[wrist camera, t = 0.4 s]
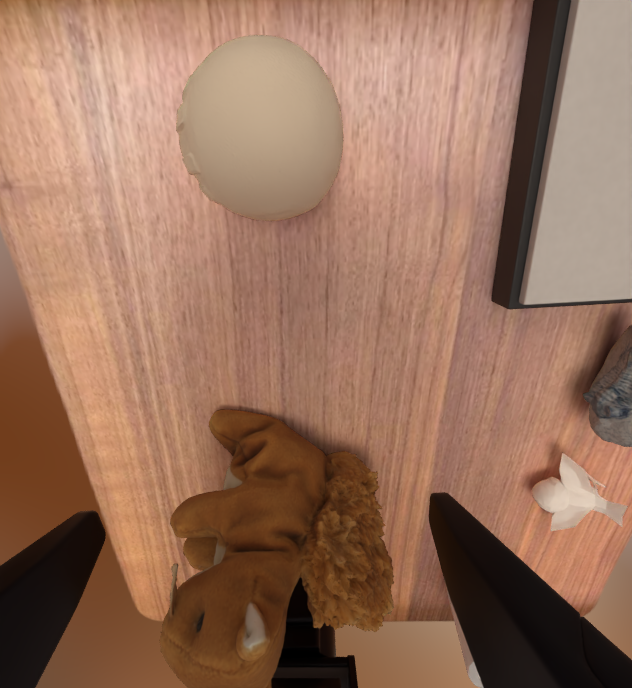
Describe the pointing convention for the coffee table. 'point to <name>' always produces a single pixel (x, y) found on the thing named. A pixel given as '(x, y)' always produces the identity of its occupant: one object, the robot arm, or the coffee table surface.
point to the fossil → (613, 394)
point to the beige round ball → (261, 128)
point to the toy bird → (573, 497)
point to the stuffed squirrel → (272, 553)
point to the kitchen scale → (571, 162)
